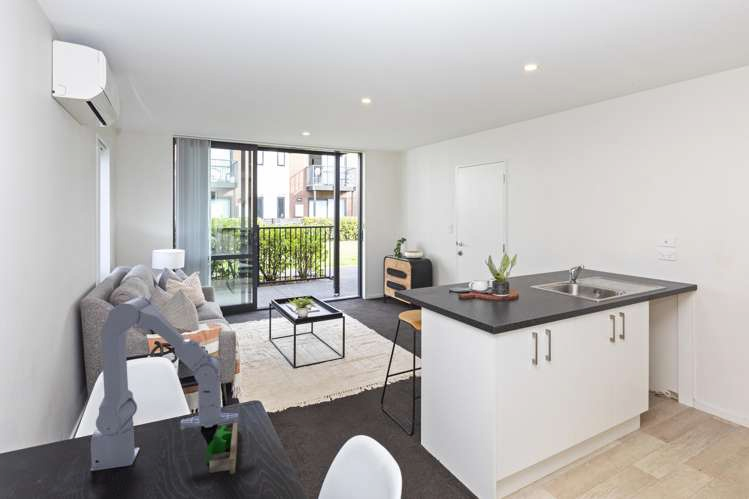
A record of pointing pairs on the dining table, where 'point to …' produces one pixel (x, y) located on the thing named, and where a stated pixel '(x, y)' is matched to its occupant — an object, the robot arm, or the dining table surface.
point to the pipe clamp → (219, 443)
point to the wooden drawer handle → (228, 458)
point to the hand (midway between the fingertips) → (210, 449)
